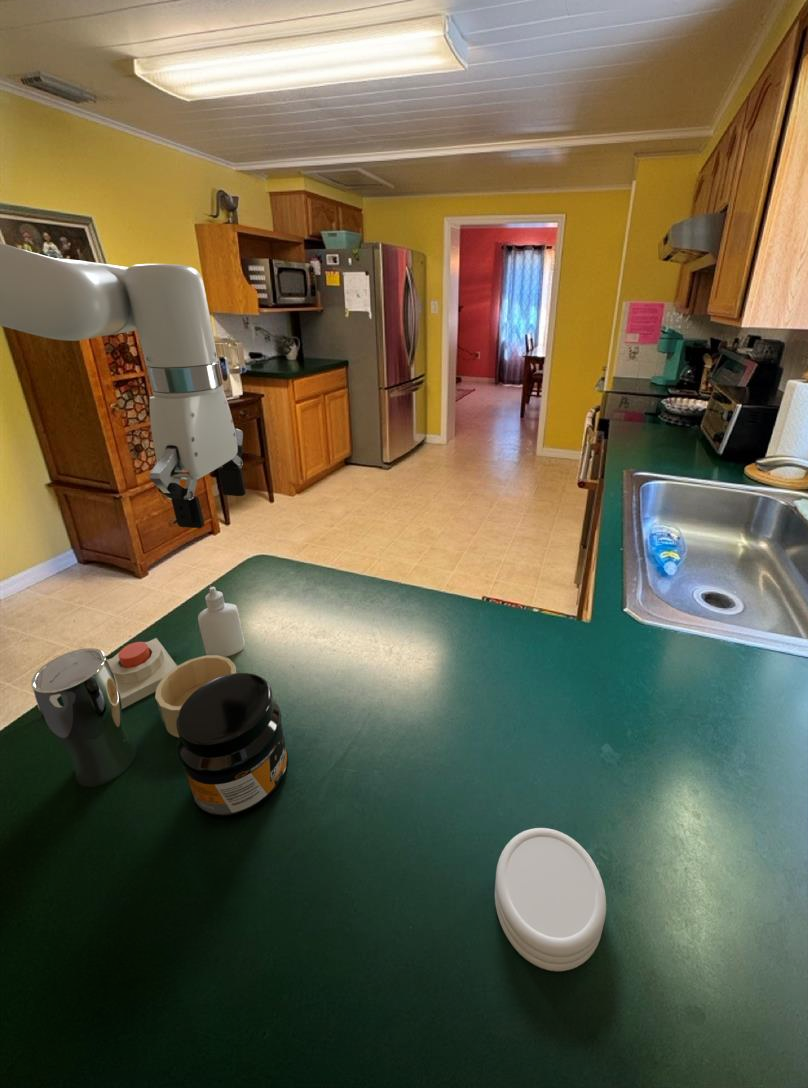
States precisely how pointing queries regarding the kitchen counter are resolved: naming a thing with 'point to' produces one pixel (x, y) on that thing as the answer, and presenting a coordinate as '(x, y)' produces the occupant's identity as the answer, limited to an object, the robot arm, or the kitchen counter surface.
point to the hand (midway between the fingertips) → (214, 509)
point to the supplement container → (232, 745)
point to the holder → (188, 685)
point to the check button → (134, 654)
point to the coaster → (550, 899)
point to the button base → (142, 674)
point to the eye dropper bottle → (220, 626)
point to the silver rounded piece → (85, 714)
